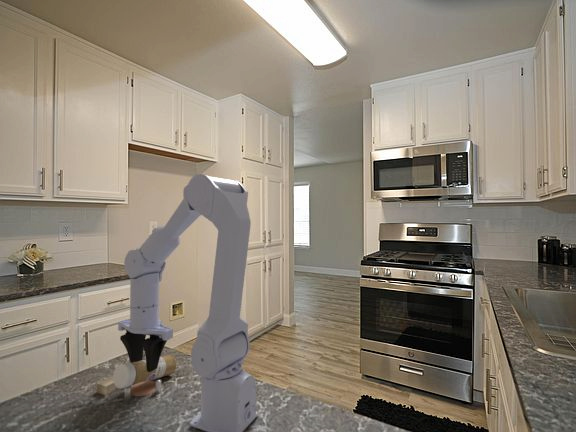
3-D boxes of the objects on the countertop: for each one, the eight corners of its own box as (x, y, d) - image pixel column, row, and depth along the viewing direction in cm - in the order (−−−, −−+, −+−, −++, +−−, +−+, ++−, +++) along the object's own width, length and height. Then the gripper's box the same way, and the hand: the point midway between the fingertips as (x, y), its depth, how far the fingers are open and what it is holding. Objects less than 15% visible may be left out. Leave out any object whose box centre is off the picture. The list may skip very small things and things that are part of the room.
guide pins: (162, 392, 66) (162, 380, 66) (141, 405, 62) (141, 392, 62) (131, 382, 70) (131, 371, 70) (109, 394, 66) (109, 382, 66)
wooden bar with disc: (173, 379, 72) (174, 370, 72) (131, 405, 62) (131, 395, 62) (140, 370, 76) (140, 362, 76) (96, 392, 66) (96, 383, 66)
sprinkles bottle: (172, 378, 73) (121, 394, 61) (160, 368, 75) (108, 380, 64) (180, 360, 74) (131, 371, 62) (167, 350, 76) (118, 359, 64)
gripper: (183, 304, 69) (183, 366, 68) (137, 297, 75) (136, 354, 75) (157, 312, 62) (157, 381, 62) (109, 304, 68) (109, 366, 68)
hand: (144, 367), depth 68 cm, fingers closed on sprinkles bottle, 4 cm apart
